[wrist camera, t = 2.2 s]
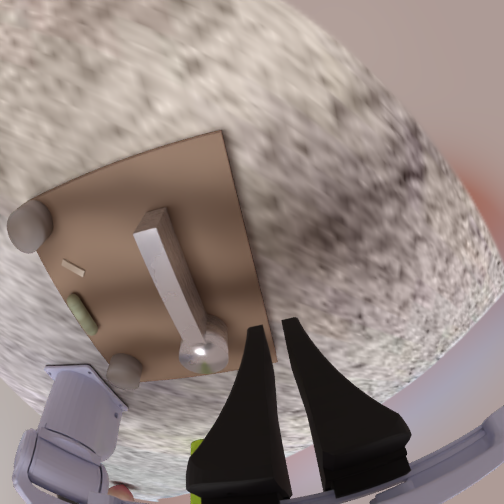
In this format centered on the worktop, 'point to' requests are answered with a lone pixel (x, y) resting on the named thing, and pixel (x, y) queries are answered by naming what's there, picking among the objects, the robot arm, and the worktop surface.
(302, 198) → the worktop surface
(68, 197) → the brown latch board
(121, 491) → the decorative fruit
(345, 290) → the worktop surface
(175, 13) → the worktop surface
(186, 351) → the lever handle
